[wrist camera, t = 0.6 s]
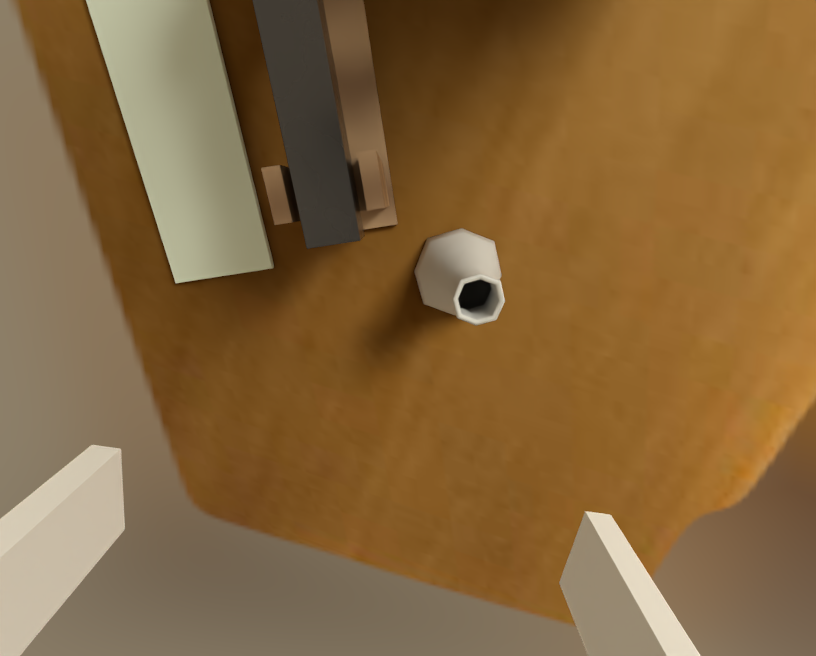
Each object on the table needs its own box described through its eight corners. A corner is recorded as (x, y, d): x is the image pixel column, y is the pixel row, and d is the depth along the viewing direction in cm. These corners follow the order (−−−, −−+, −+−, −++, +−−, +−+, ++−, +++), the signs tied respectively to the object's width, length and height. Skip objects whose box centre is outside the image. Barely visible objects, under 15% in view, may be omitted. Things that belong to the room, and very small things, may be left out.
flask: (412, 312, 36) (415, 354, 26) (416, 225, 34) (422, 236, 24) (496, 316, 36) (530, 358, 26) (505, 230, 34) (546, 242, 24)
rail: (217, -229, 20) (186, -302, 17) (280, -241, 20) (260, -316, 17) (317, 243, 26) (307, 248, 23) (364, 235, 26) (360, 240, 23)
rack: (238, -103, 27) (145, -279, 17) (344, -122, 27) (311, -311, 17) (311, 237, 34) (274, 253, 24) (397, 223, 34) (396, 234, 24)
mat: (55, -112, 27) (48, -119, 26) (176, -134, 27) (171, -142, 26) (179, 281, 35) (175, 283, 34) (274, 267, 34) (272, 268, 34)
